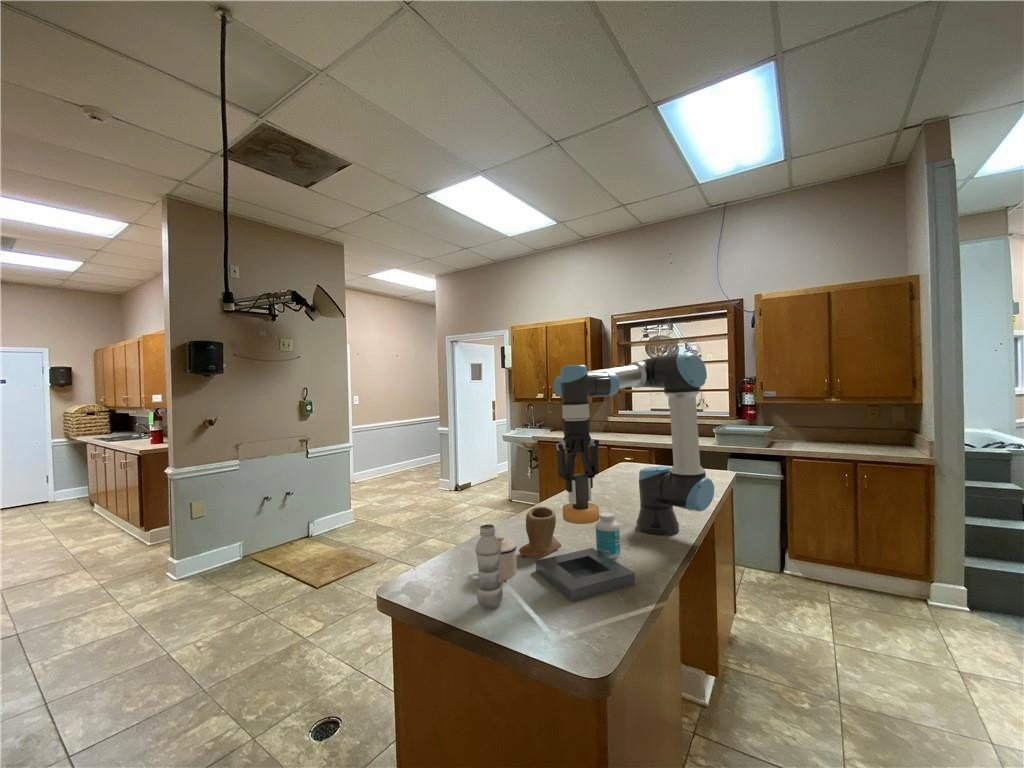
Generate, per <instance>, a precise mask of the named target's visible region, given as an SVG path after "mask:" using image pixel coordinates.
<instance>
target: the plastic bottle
mask: <svg viewBox="0 0 1024 768" xmlns="http://www.w3.org/2000/svg"><path fill="white" fill-rule="evenodd" d="M495 529H496V528H495V525H494V524H487V523H486V524H483V525H480V526H479V535H480V537H479V539H478V540H477V542H476V545H475V555H476V561H477V568H478V578H477V579H478V581H477V582H478V583H477V590H476V599H477V604H479V606H480V607H481V608H484V609H493V608H496V607H498V606H499V605H500V604H501V603H502V601H503V597H504V592H503V591H504V590H503V587H502V582H501V580H500V554H501V545H500V542H499V541H498V539H497V536H495V534H496V530H495Z"/></svg>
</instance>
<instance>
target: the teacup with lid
mask: <svg viewBox="0 0 1024 768" xmlns="http://www.w3.org/2000/svg"><path fill="white" fill-rule="evenodd" d="M496 538H497V539H498V541H499V542H500V545H501V554H500V580H501V583H507V581H508V579H511V578H514V577H515V576H516V575H517V571H518V569H517V550H516V549H517V545H516V543H515V542H514V541H513V540H510V539H507V538H505V537H504V536H503V535H498V536H496Z"/></svg>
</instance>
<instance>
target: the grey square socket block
mask: <svg viewBox="0 0 1024 768" xmlns="http://www.w3.org/2000/svg"><path fill="white" fill-rule="evenodd" d="M535 572H536V573H538V574H539V575H540V576H541V577H542V578H543V580H546V581H547V582H548V583H549V584H550V585H551V586H552V587H553V588H554V589H556V590H557V591H558V592H559V593H561V595H562V596H563V597H565V599H567V600H568V601H569V602H570V603H574V602H577V601H581V600H584V599H588V598H591V597H594V596H597V595H599V596H600V595H601V594H606V593H609V592H612V591H615V590H619V589H623V588H627V587H631V586H635V585H636V573H635V572H634V571H632V570H631V569H629V568H627V567H626V566H624V565H622V564H620V563H619V562H617V561H616V560H614V559H611V558H609V557H607V556H605V555H604V554H602V553H600V552H599V551H597V549H595V548H593V547H590V548H586V549H582V550H581V549H580V550H576V551H573V552H568V553H564V554H559V555H556V556H550V557H546V558H542V559H538V560H535Z"/></svg>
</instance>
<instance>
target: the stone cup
mask: <svg viewBox="0 0 1024 768" xmlns="http://www.w3.org/2000/svg"><path fill="white" fill-rule="evenodd" d="M526 513H527V514H526V516H525V531H526V534H527V538H528V543H527V544H524V545H522V546H521V547H519V550H518V552H519V554H520V555H522V556H524V557H525V558H531V559H540V558H544V557H546V556H548V555H550V554H552V553H553V552H555V551H556V550H558V549H559V548H561V547H562V544H561V542H560V541H558V539H556V538H555V536H554V533H555V529H556V525H557V516H556V515H557V514H556V512H555V510H553V509H552V508H550V507H547V506H536V507H533V508H531V509H530V510H529V511H527V512H526Z"/></svg>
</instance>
